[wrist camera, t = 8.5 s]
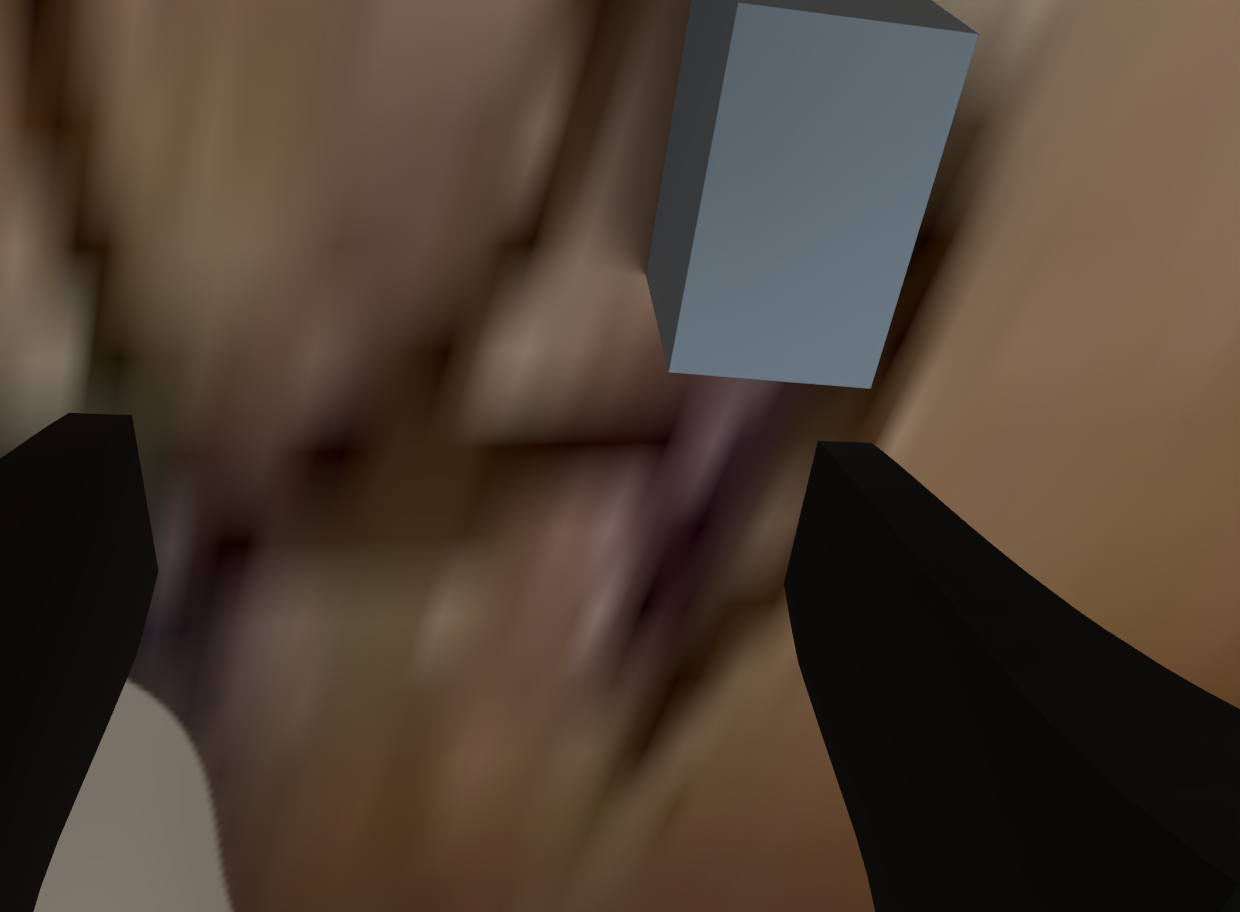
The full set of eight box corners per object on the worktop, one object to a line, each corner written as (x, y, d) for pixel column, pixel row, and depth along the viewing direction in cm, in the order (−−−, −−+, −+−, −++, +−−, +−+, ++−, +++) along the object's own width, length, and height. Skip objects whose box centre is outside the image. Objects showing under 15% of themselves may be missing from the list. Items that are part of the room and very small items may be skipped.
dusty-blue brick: (899, -23, 19) (978, 34, 16) (818, 288, 23) (870, 388, 19) (698, -50, 19) (738, 2, 16) (645, 272, 22) (669, 372, 19)
